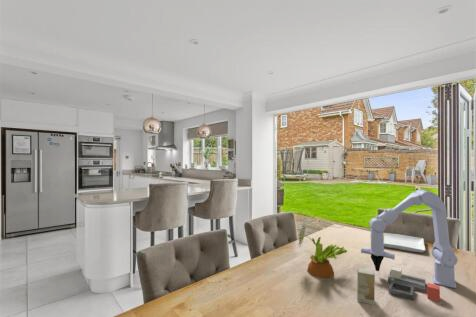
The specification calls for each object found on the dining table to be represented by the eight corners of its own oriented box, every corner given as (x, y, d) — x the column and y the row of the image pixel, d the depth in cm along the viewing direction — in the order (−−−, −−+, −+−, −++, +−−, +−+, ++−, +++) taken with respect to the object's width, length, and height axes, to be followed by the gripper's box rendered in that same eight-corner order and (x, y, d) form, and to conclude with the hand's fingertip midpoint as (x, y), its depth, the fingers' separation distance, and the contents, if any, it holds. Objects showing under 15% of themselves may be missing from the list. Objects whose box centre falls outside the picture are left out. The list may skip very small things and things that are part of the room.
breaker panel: (390, 275, 125) (390, 270, 125) (425, 283, 116) (425, 278, 116) (387, 283, 117) (387, 277, 117) (424, 292, 108) (424, 286, 108)
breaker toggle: (392, 274, 122) (391, 266, 122) (401, 276, 119) (401, 268, 119) (390, 277, 119) (390, 269, 119) (400, 280, 116) (400, 271, 116)
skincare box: (357, 301, 102) (357, 272, 102) (356, 296, 106) (356, 267, 106) (375, 305, 100) (375, 274, 100) (373, 299, 104) (373, 269, 104)
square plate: (374, 247, 165) (374, 241, 165) (379, 236, 188) (378, 231, 188) (425, 255, 150) (425, 249, 150) (423, 243, 172) (423, 237, 172)
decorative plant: (303, 259, 145) (303, 216, 145) (349, 267, 135) (348, 220, 135) (292, 279, 121) (291, 228, 121) (346, 290, 111) (345, 234, 111)
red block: (427, 294, 107) (427, 282, 107) (439, 297, 104) (439, 285, 104) (427, 298, 104) (427, 286, 104) (439, 301, 101) (439, 289, 101)
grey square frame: (391, 285, 114) (391, 281, 115) (414, 291, 109) (414, 286, 109) (388, 293, 108) (388, 289, 108) (412, 300, 103) (412, 295, 103)
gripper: (359, 242, 125) (359, 269, 125) (393, 248, 116) (393, 277, 116) (362, 238, 131) (363, 264, 131) (395, 244, 122) (395, 271, 122)
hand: (377, 270), depth 124 cm, fingers closed
